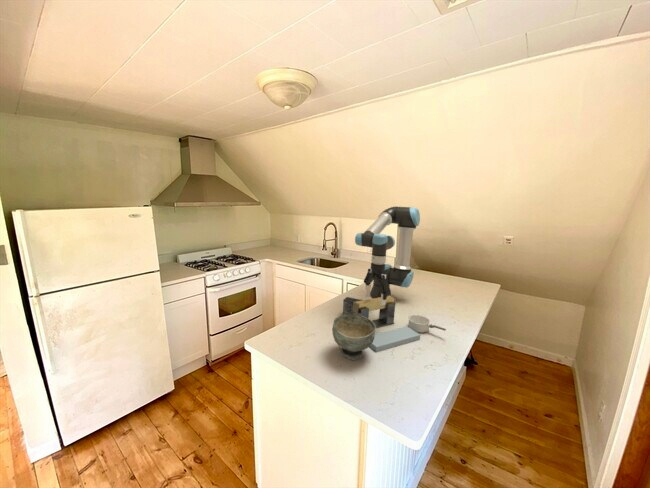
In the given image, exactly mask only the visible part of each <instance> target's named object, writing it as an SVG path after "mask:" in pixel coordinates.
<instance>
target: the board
mask: <svg viewBox="0 0 650 488" xmlns="http://www.w3.org/2000/svg"><path fill="white" fill-rule="evenodd" d="M419 339H420V340H421V334H420V333H419V332H416V331H414V330H412V329H410V328H409V326H408V325H406V326H402V327H397V328H394V329H389V330H386V331H382V332H378V333H375V337H374V340H373V343H372V344H371V345H370V346H369V347H370V349H372V350H373V351H375V353H377V352H381V351H384V350H388V349H391V348H392V349H393V348H394V347H398V346H402V345H406V344H408V343H412V342H416V341H419Z"/></svg>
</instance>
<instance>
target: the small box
mask: <svg viewBox="0 0 650 488" xmlns="http://www.w3.org/2000/svg"><path fill="white" fill-rule="evenodd" d="M362 300H363V299H359V298H354V297H348V296H346V297H345V298H344V299H343V303H342V307H343V308H342V315H353V314H354V311H353V302H356V301H362Z"/></svg>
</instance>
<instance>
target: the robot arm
mask: <svg viewBox="0 0 650 488" xmlns="http://www.w3.org/2000/svg"><path fill="white" fill-rule="evenodd" d="M420 221H421V214H420V210H419V208H417V207H413V206H411V207H409V206H408V207H407V206H391V207H388V208H386V209H384V210H383V211H382V212H380V213H379V215H378V217H377V219H376V220H374V222H373V223H371V225H370V226H369V227H368V228H367V229H366V230H365V231H364V232H357V234H355V238H354V243H355V245H357V246H360V247H364V248H365V247H367V248H371V259H370V261H371V263H370V268H368V269H367V272H366V275H365V278H364V280H363V283H364V284H365V297H366V298H367V297H371V298H372V299H373V298H379V297H381V306H382V305H385V304H386V299H387V296H390V295H392V292H391V291H392V290H391V288H390V286H391V285H392V286H395V287H396V286H397V287H400V288H407V289H408V288H409V287H410V286H411V285H412V282H413V279H414V271H413V270H412V267H411V266H410V263H411V255H412V253H411V252H412V246H413V245H412V244H413V236H414V230H416V229H417V227H418V226H419V225H420ZM391 224H396V225H397V228H398V229H399V234H398V236H399V237H398V243H397V244H398V245H397V255H396V264H394V265H393V267H392V264H389V263H388V264H387V263H386V261H387V259H386V258H387V250H390V249H392V248H393V247H395V244H396V240H395V238H394V237H393V236H391V235H387V234H384V233H382V232H383V231H384V230H385V228H386V227H387V226H390V225H391ZM372 282H373V283H372ZM371 283H372V285H371Z"/></svg>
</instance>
